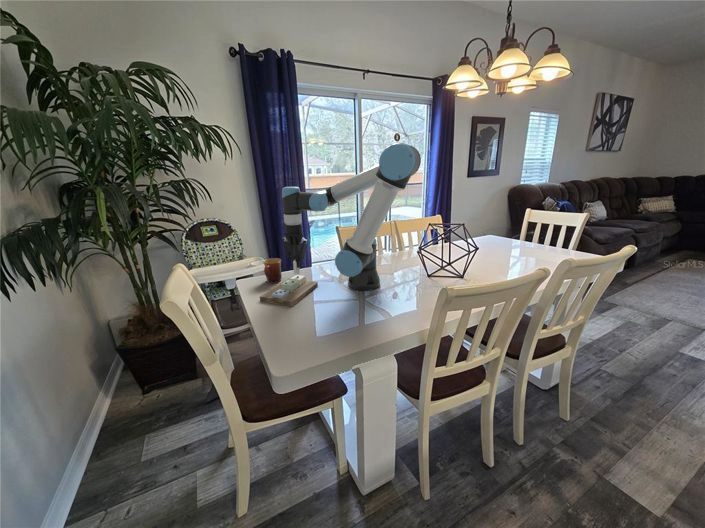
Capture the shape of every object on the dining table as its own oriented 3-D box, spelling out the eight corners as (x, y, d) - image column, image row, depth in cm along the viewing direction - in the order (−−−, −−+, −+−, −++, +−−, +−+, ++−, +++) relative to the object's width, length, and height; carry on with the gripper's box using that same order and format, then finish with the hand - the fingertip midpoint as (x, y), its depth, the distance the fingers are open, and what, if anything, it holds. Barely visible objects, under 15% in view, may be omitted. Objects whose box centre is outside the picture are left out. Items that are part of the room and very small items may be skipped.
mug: (270, 276, 149) (268, 257, 145) (286, 277, 147) (284, 258, 144) (258, 285, 137) (256, 265, 134) (275, 286, 136) (273, 266, 132)
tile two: (298, 287, 129) (297, 280, 128) (291, 292, 125) (291, 284, 124) (288, 286, 131) (287, 279, 130) (282, 290, 127) (281, 283, 126)
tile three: (289, 297, 124) (289, 290, 123) (283, 302, 119) (282, 294, 118) (280, 295, 126) (279, 288, 124) (273, 300, 121) (272, 293, 120)
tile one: (305, 282, 136) (305, 275, 134) (300, 286, 131) (299, 279, 130) (296, 281, 137) (296, 274, 136) (290, 284, 133) (290, 277, 132)
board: (317, 286, 136) (317, 282, 135) (292, 306, 116) (292, 302, 116) (288, 281, 141) (288, 278, 140) (260, 300, 122) (259, 296, 121)
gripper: (310, 222, 126) (313, 272, 134) (285, 220, 131) (289, 269, 138) (301, 226, 119) (305, 278, 127) (275, 224, 124) (280, 274, 132)
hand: (296, 273), depth 133 cm, fingers closed
